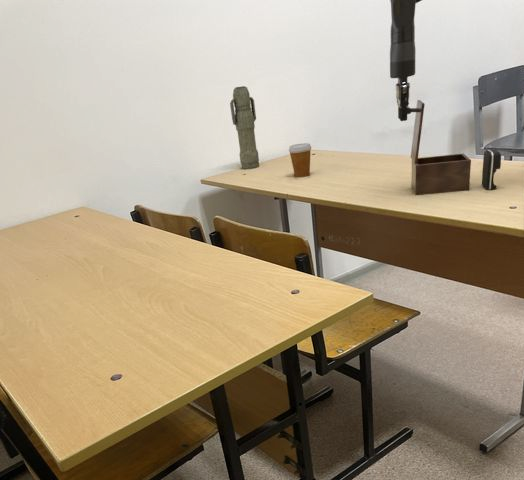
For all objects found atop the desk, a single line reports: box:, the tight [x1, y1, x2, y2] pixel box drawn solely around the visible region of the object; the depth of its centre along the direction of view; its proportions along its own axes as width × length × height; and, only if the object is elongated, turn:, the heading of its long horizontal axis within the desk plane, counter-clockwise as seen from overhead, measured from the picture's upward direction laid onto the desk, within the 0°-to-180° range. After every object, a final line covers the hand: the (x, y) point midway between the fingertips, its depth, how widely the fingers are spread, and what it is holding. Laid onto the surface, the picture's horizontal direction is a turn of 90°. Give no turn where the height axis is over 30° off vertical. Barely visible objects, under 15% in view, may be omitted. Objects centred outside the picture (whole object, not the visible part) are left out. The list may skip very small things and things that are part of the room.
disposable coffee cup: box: [288, 142, 312, 178], centre depth 221 cm, size 10×10×12 cm
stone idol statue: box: [229, 85, 260, 170], centre depth 247 cm, size 9×12×35 cm
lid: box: [407, 99, 426, 164], centre depth 170 cm, size 18×12×5 cm
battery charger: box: [481, 149, 502, 190], centre depth 168 cm, size 7×4×11 cm, turn 176°
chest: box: [410, 152, 472, 196], centre depth 175 cm, size 17×12×9 cm
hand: (402, 119), depth 169 cm, fingers closed on lid, 5 cm apart
